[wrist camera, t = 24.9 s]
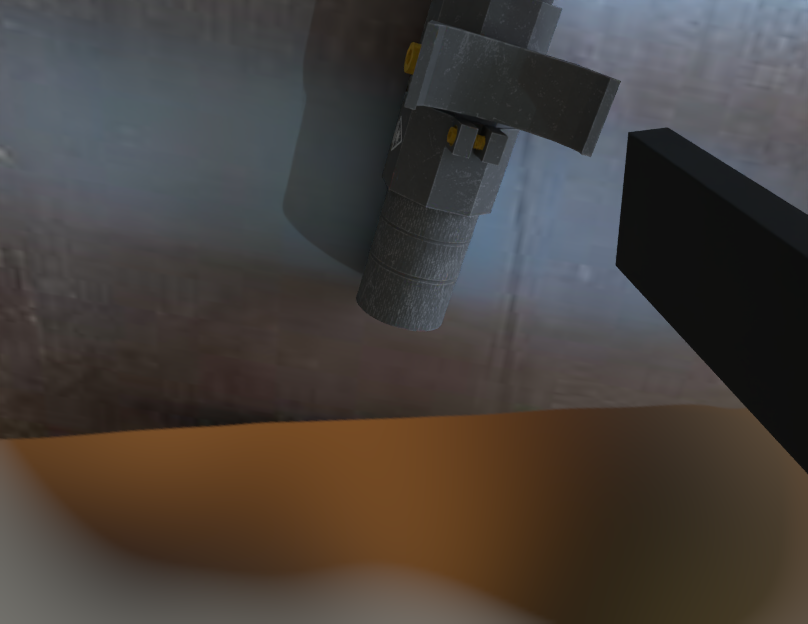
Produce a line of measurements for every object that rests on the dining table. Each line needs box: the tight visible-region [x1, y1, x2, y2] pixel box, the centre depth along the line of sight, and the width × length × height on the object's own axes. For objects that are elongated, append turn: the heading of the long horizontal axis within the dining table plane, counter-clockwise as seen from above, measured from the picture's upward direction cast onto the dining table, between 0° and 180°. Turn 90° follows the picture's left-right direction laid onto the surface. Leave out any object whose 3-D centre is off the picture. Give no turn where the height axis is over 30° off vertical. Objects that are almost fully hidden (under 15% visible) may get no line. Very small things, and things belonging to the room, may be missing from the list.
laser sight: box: [356, 0, 621, 331], centre depth 41 cm, size 10×22×10 cm, turn 164°
